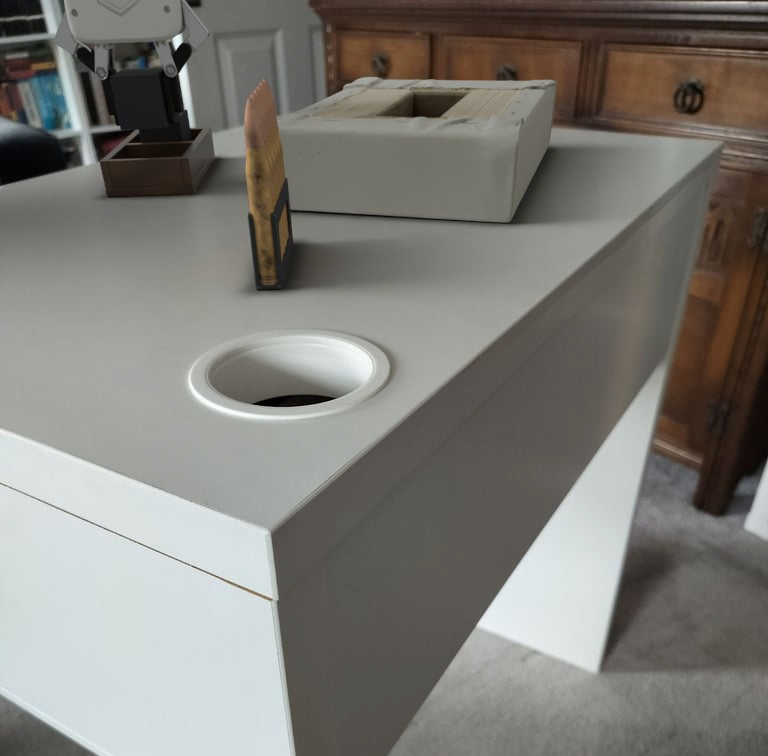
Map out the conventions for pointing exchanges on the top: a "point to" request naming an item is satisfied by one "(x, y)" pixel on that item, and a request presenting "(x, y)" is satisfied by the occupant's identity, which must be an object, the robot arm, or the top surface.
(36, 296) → the top surface
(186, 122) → the charcoal rectangular block
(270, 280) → the ammunition clip
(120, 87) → the black block
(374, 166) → the box
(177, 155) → the tray
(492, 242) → the top surface
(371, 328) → the top surface
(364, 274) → the top surface
